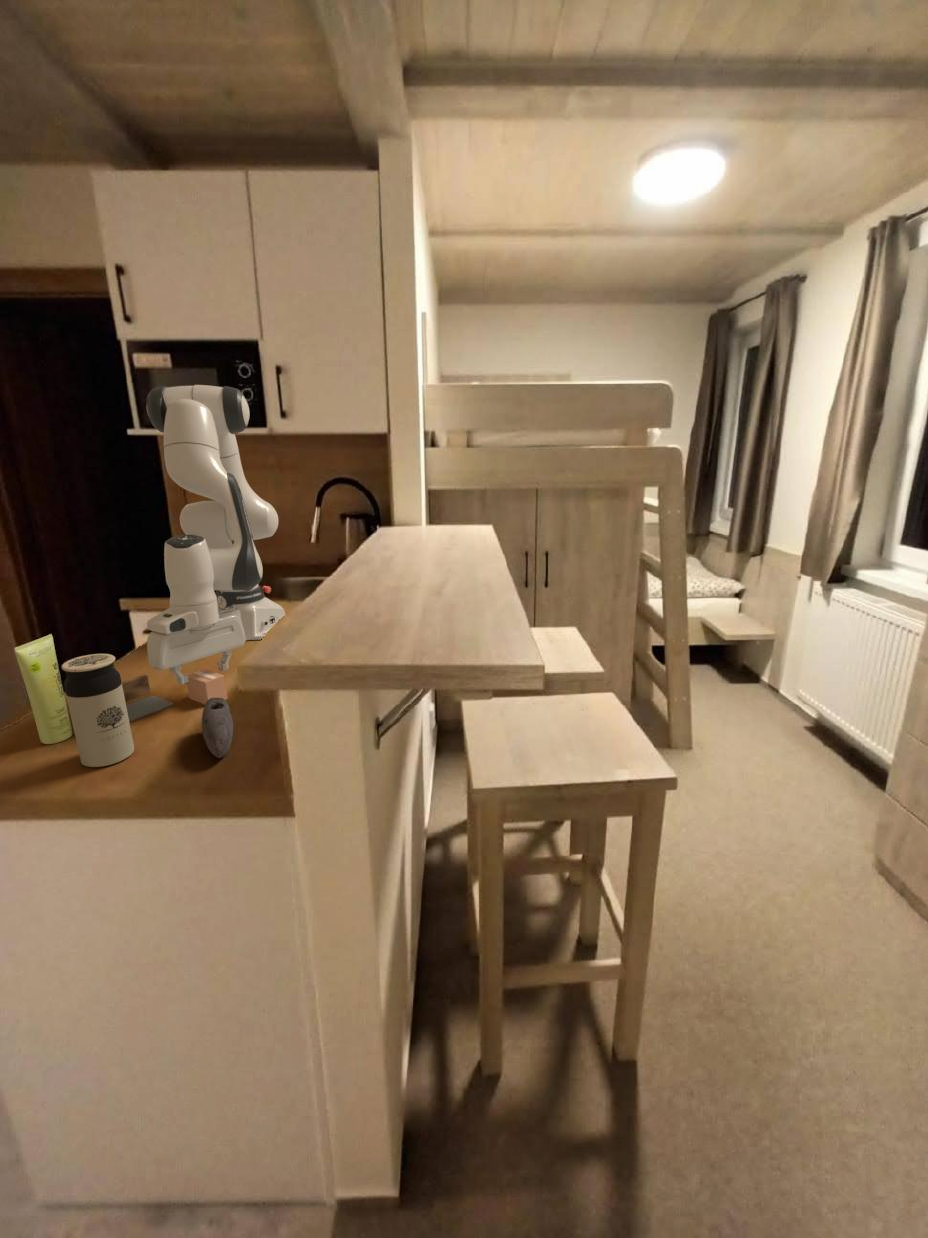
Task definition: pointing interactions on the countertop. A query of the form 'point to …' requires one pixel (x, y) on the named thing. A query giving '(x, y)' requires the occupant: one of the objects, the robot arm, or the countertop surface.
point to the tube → (45, 689)
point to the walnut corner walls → (136, 687)
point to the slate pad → (146, 707)
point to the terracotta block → (206, 686)
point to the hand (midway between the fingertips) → (204, 676)
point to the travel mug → (98, 710)
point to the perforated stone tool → (217, 726)
